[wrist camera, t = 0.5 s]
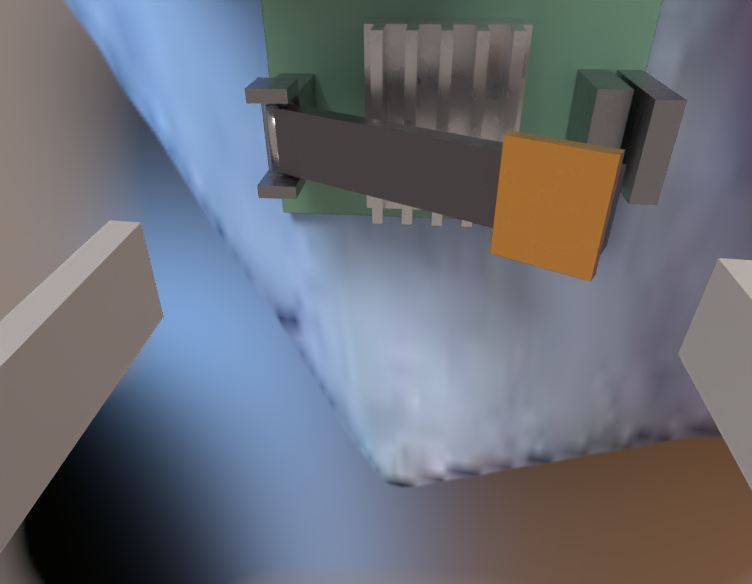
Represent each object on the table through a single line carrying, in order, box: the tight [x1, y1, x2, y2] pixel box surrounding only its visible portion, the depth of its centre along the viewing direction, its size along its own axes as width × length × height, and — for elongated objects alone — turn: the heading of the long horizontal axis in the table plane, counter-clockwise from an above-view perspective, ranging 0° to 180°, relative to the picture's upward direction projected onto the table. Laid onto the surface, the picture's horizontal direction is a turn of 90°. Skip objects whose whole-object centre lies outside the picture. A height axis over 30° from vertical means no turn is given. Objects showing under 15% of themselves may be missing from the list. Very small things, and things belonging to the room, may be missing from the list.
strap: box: [264, 103, 626, 282], centre depth 30 cm, size 6×21×2 cm, turn 90°
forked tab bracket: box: [245, 73, 317, 199], centre depth 36 cm, size 7×2×8 cm, turn 0°
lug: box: [565, 69, 687, 205], centre depth 35 cm, size 6×4×8 cm
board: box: [261, 0, 663, 218], centre depth 39 cm, size 16×25×1 cm, turn 90°
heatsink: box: [364, 17, 533, 227], centre depth 37 cm, size 12×10×6 cm
